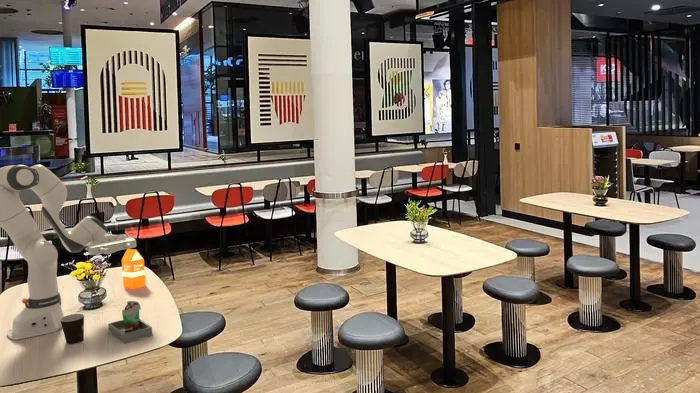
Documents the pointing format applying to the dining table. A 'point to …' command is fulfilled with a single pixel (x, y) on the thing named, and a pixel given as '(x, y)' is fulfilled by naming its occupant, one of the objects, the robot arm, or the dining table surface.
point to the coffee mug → (73, 328)
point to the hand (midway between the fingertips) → (118, 249)
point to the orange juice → (133, 269)
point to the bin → (119, 332)
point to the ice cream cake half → (131, 316)
